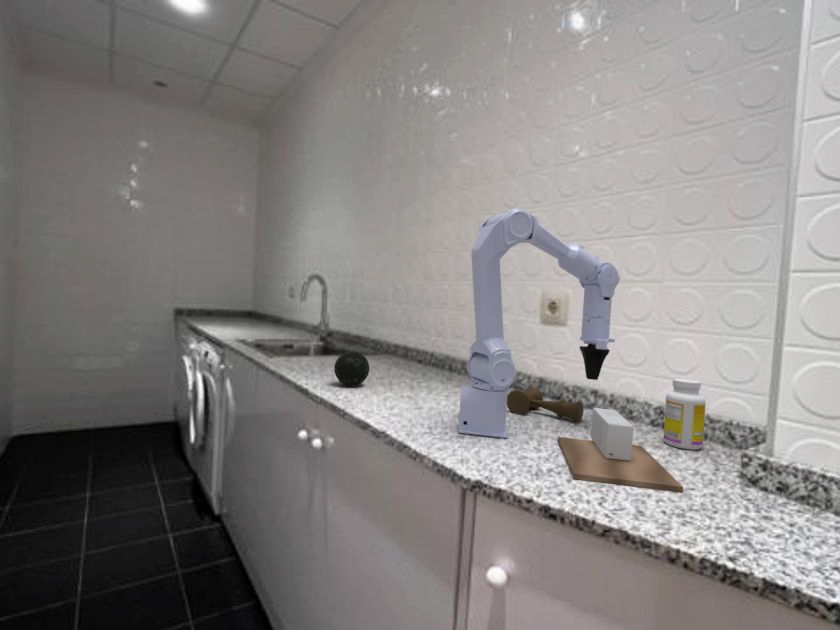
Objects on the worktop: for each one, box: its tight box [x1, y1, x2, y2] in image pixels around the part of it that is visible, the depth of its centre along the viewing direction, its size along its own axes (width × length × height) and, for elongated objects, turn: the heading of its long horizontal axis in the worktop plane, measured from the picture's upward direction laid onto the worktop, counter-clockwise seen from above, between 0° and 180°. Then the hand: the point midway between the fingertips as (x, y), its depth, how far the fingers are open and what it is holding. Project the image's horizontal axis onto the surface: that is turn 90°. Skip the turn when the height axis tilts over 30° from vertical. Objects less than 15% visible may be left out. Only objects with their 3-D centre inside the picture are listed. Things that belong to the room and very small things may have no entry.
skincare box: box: [590, 407, 634, 461], centre depth 79 cm, size 6×4×12 cm
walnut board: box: [557, 436, 684, 493], centre depth 74 cm, size 15×19×1 cm
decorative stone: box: [333, 350, 370, 386], centre depth 127 cm, size 10×10×10 cm
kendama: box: [507, 387, 585, 424], centre depth 105 cm, size 6×10×20 cm
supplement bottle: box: [663, 378, 706, 451], centre depth 86 cm, size 7×7×13 cm
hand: (592, 379), depth 97 cm, fingers closed
